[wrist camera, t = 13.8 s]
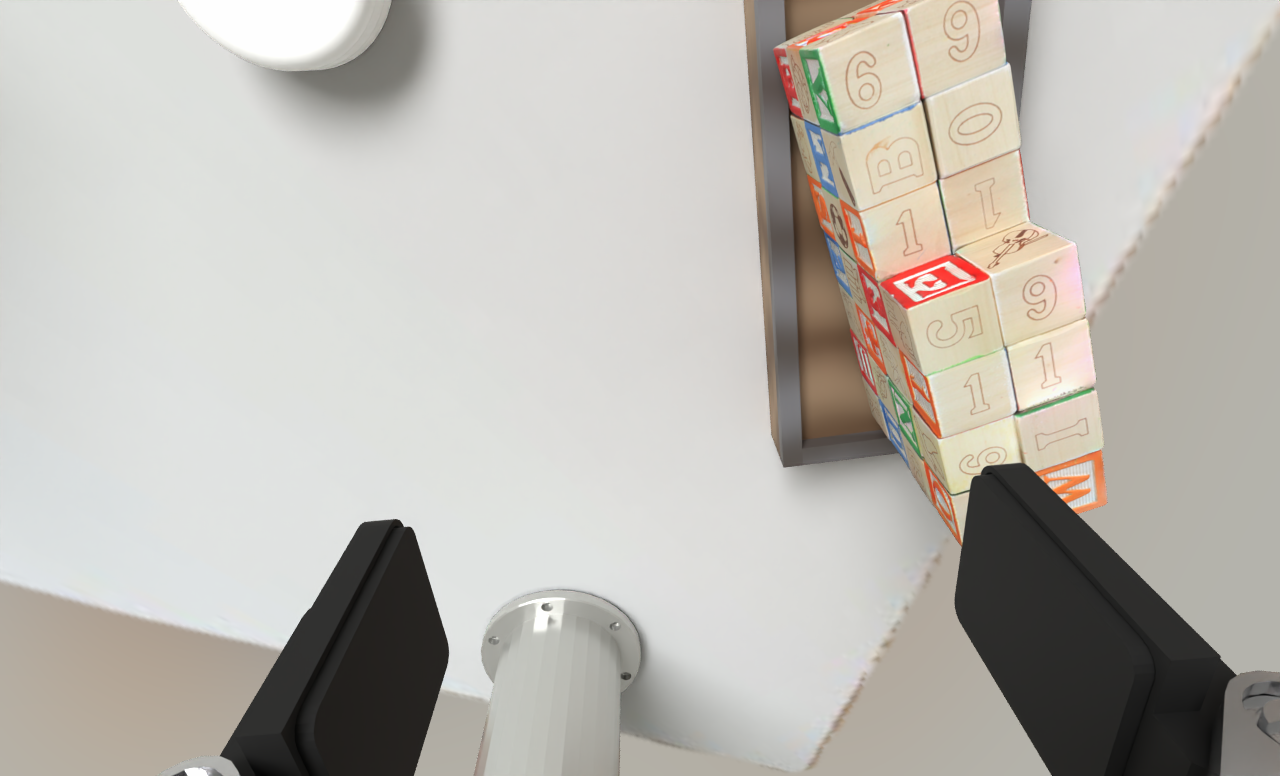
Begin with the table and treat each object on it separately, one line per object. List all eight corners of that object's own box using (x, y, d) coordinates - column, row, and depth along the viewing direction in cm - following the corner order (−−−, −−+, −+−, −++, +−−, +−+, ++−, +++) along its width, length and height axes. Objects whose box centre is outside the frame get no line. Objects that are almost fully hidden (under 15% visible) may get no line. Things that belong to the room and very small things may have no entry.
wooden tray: (957, 410, 44) (985, 441, 41) (771, 434, 45) (783, 467, 41) (996, -81, 32) (1041, -98, 29) (741, -38, 33) (754, -50, 29)
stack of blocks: (766, 47, 31) (840, 42, 20) (899, -12, 30) (1053, -51, 19) (872, 417, 40) (963, 555, 29) (977, 381, 39) (1113, 510, 28)
